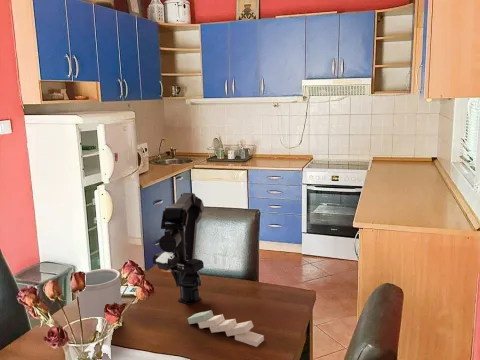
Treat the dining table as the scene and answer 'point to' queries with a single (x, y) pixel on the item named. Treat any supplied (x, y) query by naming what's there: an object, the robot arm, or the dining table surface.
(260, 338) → the cream domino
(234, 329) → the cream domino
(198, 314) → the sage domino
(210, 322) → the cream domino
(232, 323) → the cream domino
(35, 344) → the dining table surface
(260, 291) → the dining table surface
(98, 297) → the utensil holder
